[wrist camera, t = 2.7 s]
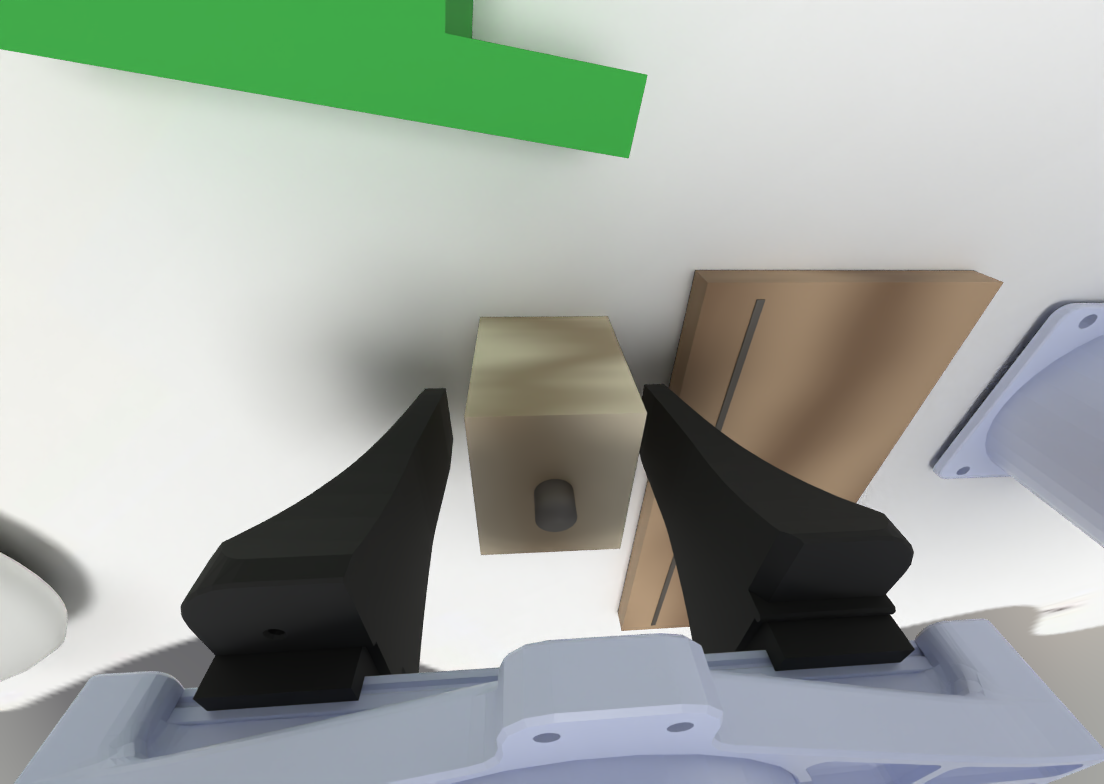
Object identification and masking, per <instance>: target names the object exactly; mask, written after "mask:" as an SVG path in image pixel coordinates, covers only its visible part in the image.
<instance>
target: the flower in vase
mask: <svg viewBox="0 0 1104 784" xmlns="http://www.w3.org/2000/svg"><path fill="white" fill-rule="evenodd" d="M66 630H67V610H66V607H65V604H64V602H63V601H62V599H61V598H60V596H59V595H58V594H57V593H56V592H55V591H54V589H53V588H52V587H51V586H50V585H48V584H47V583H46V582H45V581H44V580H42V579H41V578H40V577H39V576H37V575H36V574H35V573H33V572H32V571H31V570H29V569H28V568H26V567H25V566H23V565H22V564H20V563H19V562H17V561H15V560H14V559H12V558H10V557H8V556H6V555H5V554H3V553H1V552H0V682H1V681H3V680H6V679H8V678H10V677H13V676H15V675H18V674H20V673H22V672H24V671H27V670H28V669H30V668H31V667H33V666H34V665H36V664H37V663H38V662H40V661H41V660H43V659H44V658H45V657H47V656H48V655H49V654H51V653H52V652H54V651H55V650H56V649H58V648H59V647H60V646H61V644H62V643H63V642H64V639H65V637H66Z"/></svg>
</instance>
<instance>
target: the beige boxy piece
mask: <svg viewBox="0 0 1104 784" xmlns="http://www.w3.org/2000/svg"><path fill="white" fill-rule="evenodd" d="M646 416H647V412H646V409H645V407H644V404H643V402H642V399H641V397H640V394H639V392H638V389H637V387H636V385H635V382H634V380H633V377H632V375H631V372H630V370H629V367H628V365H627V363H626V360H625V358H624V355H623V353H622V350H621V348H620V345H619V343H618V341H617V338H616V336H615V333H614V331H613V328H612V326H611V323H610V321H609V319H608V316H575V317H480V321H479V327H478V333H477V340H476V346H475V352H474V358H473V365H472V371H471V377H470V384H469V390H468V396H467V402H466V409H465V415H464V420H465V428H466V437H467V445H468V453H469V461H470V470H471V478H472V486H473V494H474V502H475V511H476V519H477V527H478V535H479V543H480V552H481V555H493V554H514V553H535V552H557V551H578V550H600V549H620V547H621V542H622V537H623V532H624V527H625V522H626V517H627V511H628V506H629V501H630V496H631V491H632V486H633V481H634V476H635V471H636V466H637V461H638V456H639V451H640V446H641V441H642V436H643V431H644V426H645V421H646Z"/></svg>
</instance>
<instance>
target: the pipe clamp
mask: <svg viewBox="0 0 1104 784" xmlns="http://www.w3.org/2000/svg"><path fill="white" fill-rule="evenodd" d="M472 16H473V0H0V49H3V50H8V51H14V52H20V53H26V54H31V55H37V56H43V57H49V58H54V59H60V60H66V61H72V62H77V63H83V64H89V65H95V66H100V67H106V68H112V69H118V70H123V71H129V72H135V73H141V74H146V75H152V76H158V77H164V78H169V79H175V80H181V81H187V82H192V83H198V84H204V85H210V86H215V87H221V88H227V89H233V90H238V91H244V92H250V93H256V94H261V95H267V96H273V97H279V98H284V99H290V100H296V101H302V102H307V103H313V104H319V105H325V106H330V107H336V108H342V109H348V110H353V111H359V112H365V113H371V114H376V115H382V116H388V117H394V118H399V119H405V120H411V121H417V122H422V123H428V124H434V125H440V126H445V127H451V128H457V129H463V130H468V131H474V132H480V133H486V134H491V135H497V136H503V137H509V138H514V139H520V140H526V141H532V142H537V143H543V144H549V145H555V146H560V147H566V148H572V149H578V150H583V151H589V152H595V153H601V154H606V155H612V156H618V157H624V158H629V154H630V150H631V145H632V141H633V137H634V132H635V128H636V123H637V119H638V115H639V110H640V106H641V101H642V97H643V93H644V88H645V84H646V79H647V75H646V74H641V73H636V72H631V71H626V70H621V69H617V68H612V67H607V66H602V65H597V64H592V63H587V62H583V61H578V60H573V59H568V58H563V57H558V56H553V55H549V54H544V53H539V52H534V51H529V50H524V49H519V48H515V47H510V46H505V45H500V44H495V43H490V42H485V41H481V40H476V39H472Z"/></svg>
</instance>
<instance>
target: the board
mask: <svg viewBox="0 0 1104 784" xmlns="http://www.w3.org/2000/svg"><path fill="white" fill-rule="evenodd" d="M1002 284H1003V282H1002V281H999V280H996V279H994V278H991V277H989V276H986V275H984V274H981V273H978V272H976V271H846V270H695V275H694V279H693V283H692V288H691V292H690V297H689V301H688V305H687V310H686V314H685V319H684V323H683V328H682V332H681V336H680V341H679V345H678V350H677V354H676V358H675V363H674V367H673V372H672V376H671V381H670V385H669V389H670V390H671V391H673V392H674V393H675V394H676V395H677V396H678V397H679V398H681V399H682V400H683V401H684V402H685V403H686V404H688V405H689V406H690V407H691V408H692V409H693V410H695V411H696V412H697V413H698V414H699V415H701V416H702V417H703V418H704V419H705V420H707V421H708V422H709V423H710V424H712V425H713V426H714V427H716V428H717V429H718V430H720V431H721V432H722V433H724V434H725V435H726V436H728V437H729V438H730V439H732V440H733V441H735V442H736V443H738V444H739V445H741V446H742V447H743V448H745V449H747V450H748V451H750V452H751V453H753V454H755V455H756V456H758V457H759V458H761V459H763V460H764V461H766V462H768V463H770V464H771V465H773V466H775V467H777V468H779V469H781V470H783V471H785V472H786V473H788V474H790V475H792V476H794V477H796V478H798V479H800V480H802V481H804V482H806V483H809V484H811V485H813V486H815V487H817V488H820V489H822V490H824V491H826V492H829V493H831V494H833V495H836V496H838V497H841V498H843V499H846V500H848V501H851V502H854V503H856V502H857V501H858V499H859V498H860V496H861V495H862V493H863V492H864V490H865V489H866V487H867V486H868V484H869V483H870V481H871V480H872V478H873V477H874V475H875V474H876V472H877V471H878V469H879V468H880V466H881V465H882V463H883V462H884V460H885V459H886V457H887V456H888V454H889V453H890V451H891V450H892V449H893V447H894V446H895V444H896V443H897V441H898V440H899V438H900V437H901V435H902V434H903V432H904V431H905V429H906V428H907V426H908V425H909V423H910V422H911V420H912V419H913V417H914V416H915V414H916V413H917V411H918V410H919V408H920V407H921V405H922V404H923V402H924V401H925V399H926V398H927V396H928V395H929V393H930V392H931V390H932V389H933V387H934V386H935V384H936V383H937V381H938V380H939V378H940V377H941V375H942V374H943V372H944V371H945V369H946V368H947V366H948V365H949V363H950V362H951V360H952V359H953V357H954V356H955V354H956V353H957V351H958V350H959V348H960V347H961V345H962V344H963V342H964V341H965V339H966V338H967V336H968V335H969V333H970V332H971V330H972V329H973V327H974V326H975V324H976V323H977V321H978V320H979V318H980V317H981V315H982V314H983V312H984V311H985V309H986V308H987V306H988V305H989V303H990V302H991V300H992V299H993V297H994V296H995V294H996V293H997V291H998V290H999V288H1000V287H1001V285H1002ZM618 616H619V621H620V626H621V631H627V630H643V629H659V628H676V627H690V625H689V620H688V616H687V611H686V606H685V602H684V597H683V592H682V588H681V584H680V579H679V575H678V571H677V567H676V562H675V559H674V555H673V551H672V547H671V543H670V539H669V535H668V532H667V529H666V526H665V523H664V520H663V517H662V514H661V512H660V509H659V507H658V504H657V501H656V499H655V496H654V493H653V491H652V488H651V485H650V483H649V480H648V482H647V487H646V491H645V495H644V500H643V504H642V509H641V513H640V517H639V522H638V526H637V531H636V535H635V540H634V544H633V548H632V553H631V557H630V562H629V566H628V570H627V575H626V579H625V584H624V588H623V593H622V597H621V601H620V606H619V610H618Z"/></svg>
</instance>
